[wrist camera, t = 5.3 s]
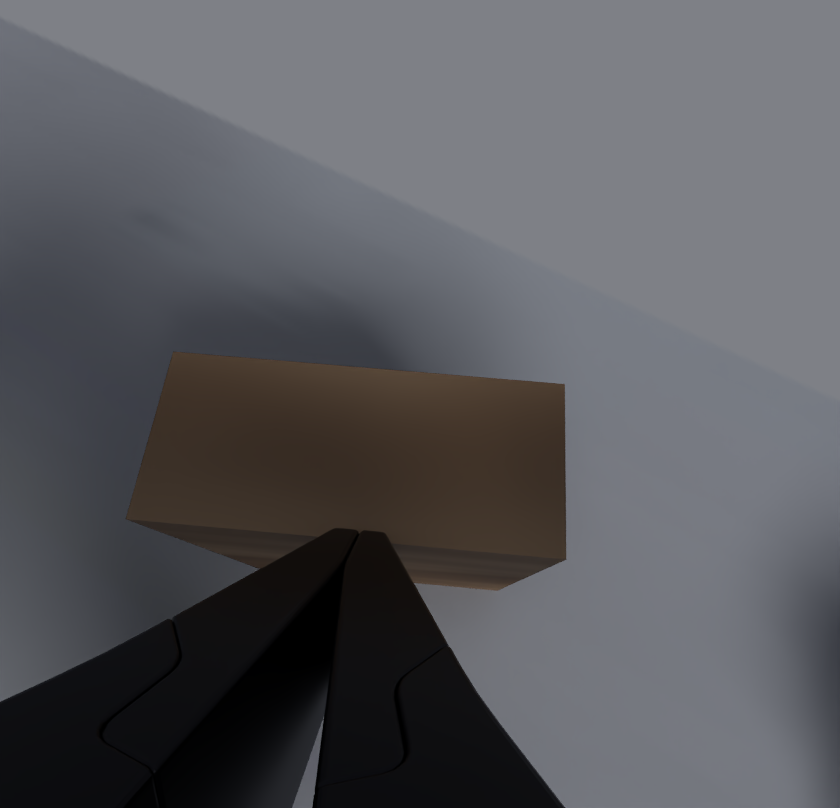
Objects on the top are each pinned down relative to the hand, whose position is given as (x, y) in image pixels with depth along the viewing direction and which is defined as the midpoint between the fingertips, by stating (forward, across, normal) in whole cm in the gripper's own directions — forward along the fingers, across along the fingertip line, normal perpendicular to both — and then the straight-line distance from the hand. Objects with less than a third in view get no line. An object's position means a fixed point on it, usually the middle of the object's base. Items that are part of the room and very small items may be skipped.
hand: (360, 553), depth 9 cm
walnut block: (+7, 0, -4) cm, 8 cm away
